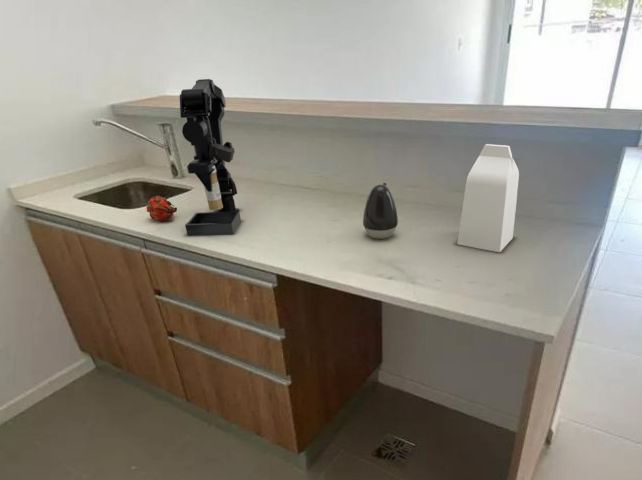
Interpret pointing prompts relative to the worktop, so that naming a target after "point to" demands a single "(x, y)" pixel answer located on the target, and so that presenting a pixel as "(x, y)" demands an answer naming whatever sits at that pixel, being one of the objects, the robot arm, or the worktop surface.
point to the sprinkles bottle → (214, 193)
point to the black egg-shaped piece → (380, 213)
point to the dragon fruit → (160, 208)
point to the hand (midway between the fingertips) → (212, 189)
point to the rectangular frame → (213, 223)
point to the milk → (490, 200)
